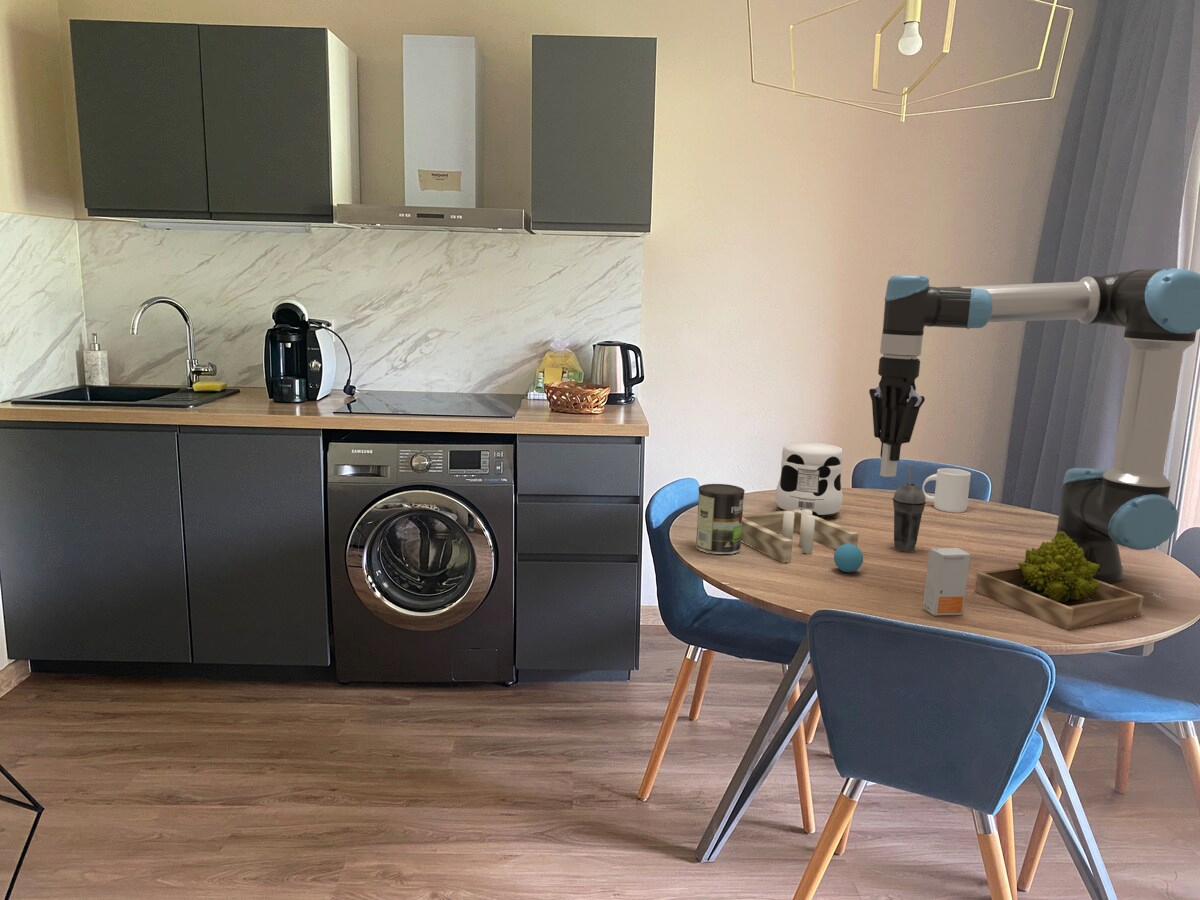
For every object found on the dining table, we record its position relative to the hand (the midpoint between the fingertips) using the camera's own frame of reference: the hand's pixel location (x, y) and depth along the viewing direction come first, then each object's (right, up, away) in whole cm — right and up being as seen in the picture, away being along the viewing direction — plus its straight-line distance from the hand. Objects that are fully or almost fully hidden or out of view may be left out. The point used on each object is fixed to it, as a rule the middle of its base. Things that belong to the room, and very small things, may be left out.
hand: (887, 475), depth 173 cm
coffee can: (-30, -18, +26) cm, 44 cm away
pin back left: (-14, -18, +28) cm, 36 cm away
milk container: (-2, -12, +60) cm, 61 cm away
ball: (-4, -18, +12) cm, 22 cm away
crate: (+32, -25, -2) cm, 41 cm away
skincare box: (+8, -26, -9) cm, 28 cm away
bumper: (-12, -17, +31) cm, 37 cm away
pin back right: (-9, -17, +30) cm, 36 cm away
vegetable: (+33, -24, +1) cm, 41 cm away
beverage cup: (+14, -18, +31) cm, 38 cm away
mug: (+39, -11, +70) cm, 81 cm away
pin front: (-10, -18, +25) cm, 33 cm away
